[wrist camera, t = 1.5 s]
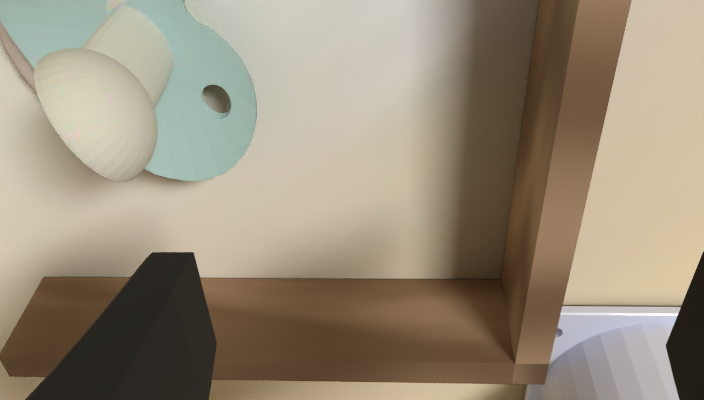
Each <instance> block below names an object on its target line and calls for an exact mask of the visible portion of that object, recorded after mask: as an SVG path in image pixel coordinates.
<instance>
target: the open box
mask: <svg viewBox="0 0 704 400" xmlns="http://www.w3.org/2000/svg"><path fill="white" fill-rule="evenodd" d="M630 4H631V0H539V4H538V12H537V19H536V26H535V33H534V41H533V48H532V55H531V62H530V70H529V77H528V84H527V91H526V99H525V106H524V113H523V121H522V128H521V135H520V142H519V150H518V157H517V164H516V171H515V179H514V186H513V193H512V200H511V208H510V215H509V222H508V229H507V237H506V244H505V251H504V258H503V266H502V273H501V280H440V279H269V278H200V280H201V284H202V287H203V291H204V295H205V299H206V303H207V307H208V310H209V314H210V318H211V322H212V326H213V330H214V333H215V337H216V341H217V346H216V353H215V360H214V367H213V374H212V380H277V381H342V382H407V383H473V384H538V385H545V380H546V376H547V372H548V367H549V363H550V358H551V354H552V350H553V345H554V341H555V336H556V332H557V327H558V323H559V319H560V314H561V310H562V305H563V301H564V296H565V292H566V288H567V283H568V279H569V274H570V270H571V265H572V261H573V257H574V252H575V248H576V243H577V239H578V234H579V230H580V226H581V221H582V217H583V212H584V208H585V203H586V199H587V195H588V190H589V186H590V181H591V177H592V173H593V168H594V164H595V159H596V155H597V150H598V146H599V142H600V137H601V133H602V128H603V124H604V119H605V115H606V111H607V106H608V102H609V97H610V93H611V88H612V84H613V80H614V75H615V71H616V66H617V62H618V57H619V53H620V49H621V44H622V40H623V35H624V31H625V26H626V22H627V18H628V13H629V9H630ZM129 279H130V278H99V277H44V278H43V279H42V281H41V283H40V285H39V286H38V288H37V290H36V292H35V293H34V295H33V297H32V299H31V300H30V302H29V304H28V306H27V307H26V309H25V311H24V313H23V314H22V316H21V318H20V320H19V321H18V323H17V325H16V327H15V328H14V330H13V332H12V334H11V335H10V337H9V339H8V341H7V342H6V344H5V346H4V348H3V349H2V351H1V353H0V360H1V362H2V364H3V365H4V367H5V369H6V371H7V372H8V374H9V376H17V377H47V376H48V375H49V373H50V372H51V371H52V370H53V369H54V368H55V367H56V365H57V364H58V363H59V362H60V361H61V360H62V359H63V357H64V356H65V355H66V354H67V353H68V352H69V351H70V349H71V348H72V347H73V346H74V345H75V344H76V342H77V341H78V340H79V339H80V338H81V337H82V336H83V334H84V333H85V332H86V331H87V330H88V329H89V327H90V326H91V325H92V324H93V323H94V321H95V320H96V319H97V318H98V317H99V315H100V314H101V313H102V312H103V311H104V309H105V308H106V307H107V306H108V305H109V303H110V302H111V301H112V300H113V299H114V297H115V296H116V295H117V294H118V292H119V291H120V290H121V289H122V288H123V286H124V285H125V284H126V283H127V281H128V280H129Z"/></svg>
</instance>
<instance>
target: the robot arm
mask: <svg viewBox="0 0 704 400" xmlns="http://www.w3.org/2000/svg"><path fill="white" fill-rule="evenodd" d="M216 346H217V341H216V337H215V333H214V330H213V326H212V322H211V318H210V314H209V310H208V307H207V303H206V299H205V295H204V291H203V287H202V284H201V280H200V276H199V272H198V268H197V264H196V260H195V257H194V253H193V252H157V253H151V254H150V255H149V256H148V257H147V258H146V259H145V261H144V262H143V263H142V264H141V265H140V267H139V268H138V269H137V270H136V272H135V273H134V274H133V275H132V276H131V278H130V279H129V280H128V281H127V283H126V284H125V285H124V286H123V288H122V289H121V290H120V291H119V292H118V294H117V295H116V296H115V297H114V299H113V300H112V301H111V302H110V303H109V305H108V306H107V307H106V308H105V309H104V311H103V312H102V313H101V314H100V315H99V317H98V318H97V319H96V320H95V321H94V323H93V324H92V325H91V326H90V327H89V329H88V330H87V331H86V332H85V333H84V334H83V336H82V337H81V338H80V339H79V340H78V341H77V342H76V344H75V345H74V346H73V347H72V348H71V349H70V351H69V352H68V353H67V354H66V355H65V356H64V357H63V359H62V360H61V361H60V362H59V363H58V364H57V365H56V367H55V368H54V369H53V370H52V371H51V372H50V373H49V375H48V376H47V377H46V378H45V379H44V380H43V381H42V382H41V383H40V384H39V385H38V387H37V388H36V389H35V390H34V391H33V392H32V393H31V394H30V395H29V396H28V397H27V398H26V399H25V400H208V399H209V393H210V387H211V381H212V374H213V367H214V360H215V353H216ZM524 400H704V252H703V254H702V256H701V259H700V261H699V264H698V266H697V269H696V271H695V274H694V276H693V279H692V281H691V284H690V286H689V289H688V291H687V294H686V296H685V298H684V301H683V303H682V306H681V307H629V306H562V310H561V314H560V319H559V323H558V327H557V332H556V336H555V341H554V345H553V350H552V354H551V358H550V363H549V367H548V372H547V376H546V380H545V385H538V384H527V387H526V392H525V397H524Z"/></svg>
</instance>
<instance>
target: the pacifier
mask: <svg viewBox="0 0 704 400" xmlns="http://www.w3.org/2000/svg"><path fill="white" fill-rule="evenodd" d="M0 39H1V41H2V44H3V46H4V48H5V50H6V52H7V53H8V55H9V56H10V58H11V60H12V61H13V63H14V64H15V66H16V68H17V69H18V71H19V73H20V74H21V75H22V76H23V78H24V79H25V80H26V81H27V82H28V84H29V85H30V86H31V87H32V88H33V90H34V91H35V92H36V93H37V97H38V99H39V102H40V104H41V107H42V109H43V111H44V113H45V115H46V117H47V119H48V120H49V122H50V124H51V125H52V127H53V128H54V130H55V131H56V133H57V134H58V136H59V137H60V138H61V140H62V141H63V142H64V144H65V145H66V146H67V147H68V148H69V149H70V150H71V151H72V153H73V154H74V155H75V156H76V157H77V158H78V159H79V160H81V161H82V162H83V163H84V164H85V165H86V166H87V167H89V168H90V169H91V170H93V171H94V172H96V173H97V174H99V175H100V176H102V177H104V178H106V179H109V180H111V181H115V182H128V181H130V180H132V179H134V178H135V177H137V176H138V175H139V174H140V173H141V172H142V171H143V170H144V169H145V170H148V171H150V172H151V173H153V174H155V175H159V176H163V177H167V178H172V179H179V180H183V181H201V180H207V179H212V178H214V177H216V176H219V175H221V174H224V173H225V172H227V171H228V170H229V169H231V168H232V167H234V166H235V165H236V164H237V163H238V161H239V160H240V159H241V158H242V157H243V155H244V154H245V152H246V150H247V148H248V147H249V145H250V143H251V140H252V136H253V133H254V129H255V124H256V118H257V105H256V96H255V90H254V86H253V83H252V80H251V77H250V74H249V72H248V70H247V68H246V67H245V65H244V63H243V62H242V60H241V58H240V56H239V55H238V54H237V53H236V52H235V50H234V49H233V48H232V47H231V46H230V45H229V44H228V42H227V41H225V40H224V39H223V38H222V37H221V36H219V35H218V34H217V33H216V32H215V31H213V30H212V29H210V28H208V27H207V26H205V25H203V24H201V23H199V22H198V21H196V20H195V19H194V18H193V17H192V16H191V14H190V13H189V12H188V10H187V8H186V6H185V2H184V0H0ZM208 85H218V86H220V87H222V88H223V89H224V90H225V91H226V92H227V94H228V95H229V98H230V100H231V109H230V110H229V111H228V112H225V113H218V112H215V111H213V110H212V109H211V108H210V107H209V106H208V105H207V103H206V102H205V99H204V95H203V89H204V88H205V87H206V86H208Z"/></svg>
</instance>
